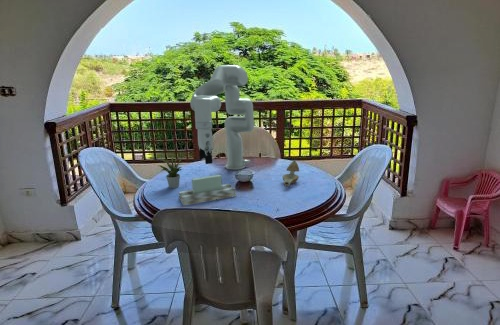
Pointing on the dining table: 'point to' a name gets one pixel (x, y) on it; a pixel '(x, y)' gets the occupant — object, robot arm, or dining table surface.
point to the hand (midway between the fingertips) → (205, 160)
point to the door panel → (207, 184)
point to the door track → (206, 195)
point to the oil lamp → (291, 174)
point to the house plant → (172, 173)
